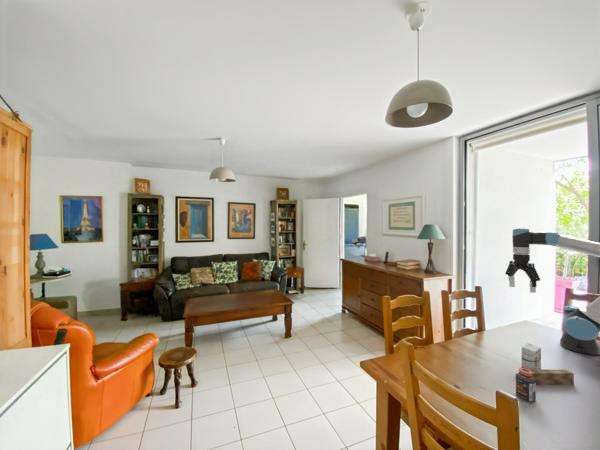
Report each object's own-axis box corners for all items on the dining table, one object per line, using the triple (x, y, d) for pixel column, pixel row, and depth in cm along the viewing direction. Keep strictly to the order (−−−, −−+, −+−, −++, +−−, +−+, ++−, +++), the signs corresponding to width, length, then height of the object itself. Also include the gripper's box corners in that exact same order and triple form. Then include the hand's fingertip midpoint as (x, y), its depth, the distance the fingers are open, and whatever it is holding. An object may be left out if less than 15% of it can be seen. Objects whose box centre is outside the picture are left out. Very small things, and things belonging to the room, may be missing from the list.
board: (566, 380, 111) (566, 369, 111) (573, 385, 108) (573, 373, 108) (523, 380, 111) (523, 369, 111) (529, 384, 108) (529, 373, 108)
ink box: (534, 377, 113) (534, 351, 113) (521, 371, 117) (520, 346, 118) (541, 371, 118) (541, 346, 118) (528, 366, 122) (527, 342, 122)
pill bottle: (511, 393, 102) (511, 366, 102) (525, 392, 103) (524, 365, 103) (526, 404, 96) (525, 374, 96) (540, 403, 97) (539, 374, 97)
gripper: (498, 252, 160) (498, 284, 160) (535, 256, 136) (536, 295, 135) (509, 252, 161) (510, 284, 160) (548, 256, 136) (549, 295, 135)
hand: (521, 289), depth 148 cm, fingers open, 13 cm apart
